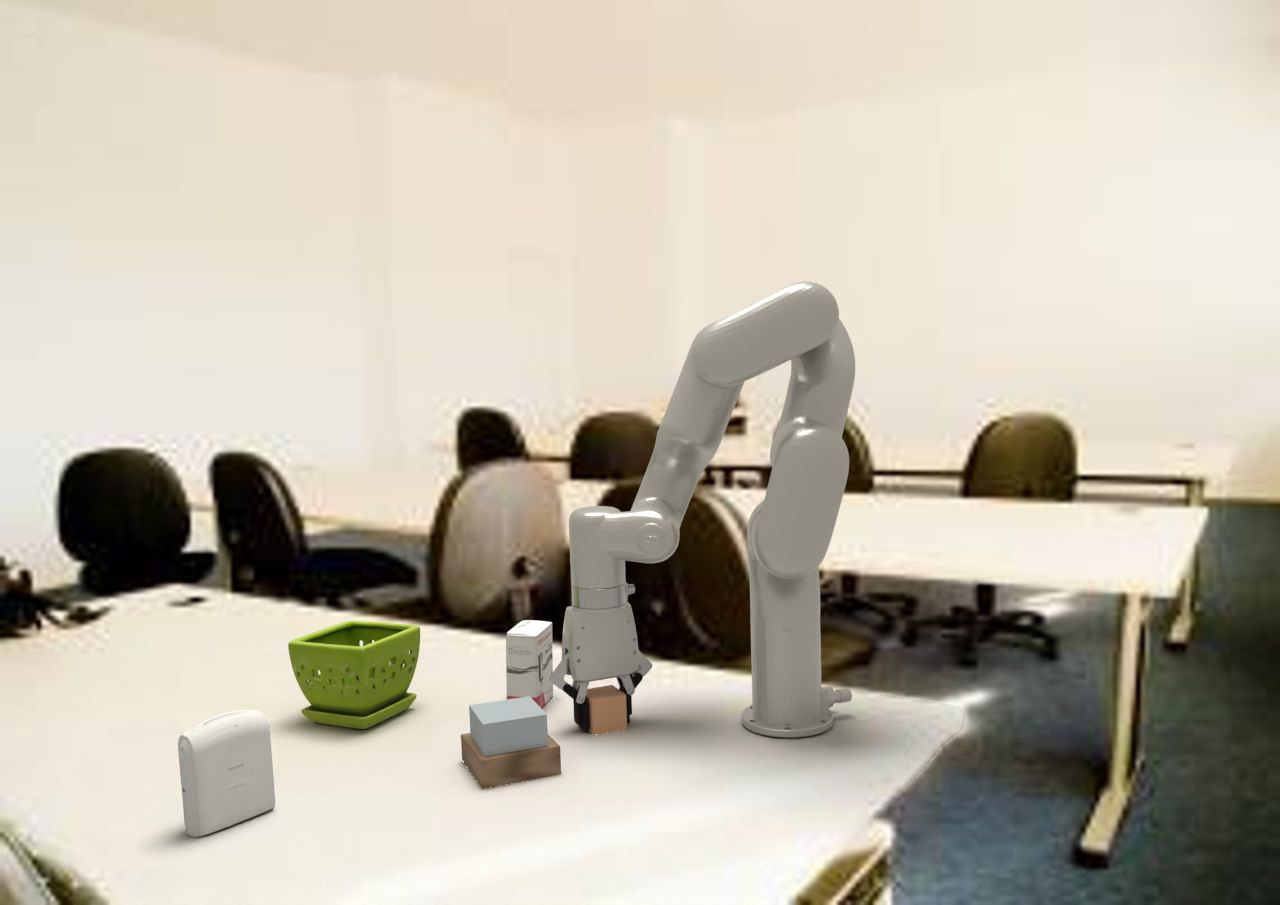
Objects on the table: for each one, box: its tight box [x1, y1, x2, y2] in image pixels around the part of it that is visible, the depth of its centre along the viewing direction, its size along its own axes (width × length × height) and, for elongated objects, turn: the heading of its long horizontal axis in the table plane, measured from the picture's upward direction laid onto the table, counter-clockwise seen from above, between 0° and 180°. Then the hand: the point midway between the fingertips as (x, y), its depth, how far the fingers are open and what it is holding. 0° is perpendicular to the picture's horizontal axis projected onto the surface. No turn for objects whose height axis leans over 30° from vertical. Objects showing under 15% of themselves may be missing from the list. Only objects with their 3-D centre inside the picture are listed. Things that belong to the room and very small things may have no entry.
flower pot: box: [287, 620, 421, 730], centre depth 155 cm, size 14×14×13 cm
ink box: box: [505, 619, 554, 710], centre depth 158 cm, size 9×5×12 cm, turn 168°
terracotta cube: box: [585, 684, 628, 736], centre depth 148 cm, size 5×5×5 cm
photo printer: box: [177, 709, 276, 838], centre depth 121 cm, size 10×4×12 cm, turn 140°
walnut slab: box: [460, 732, 562, 790], centre depth 134 cm, size 10×10×4 cm
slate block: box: [468, 696, 549, 757], centre depth 134 cm, size 8×8×4 cm
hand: (603, 723), depth 148 cm, fingers open, 5 cm apart
